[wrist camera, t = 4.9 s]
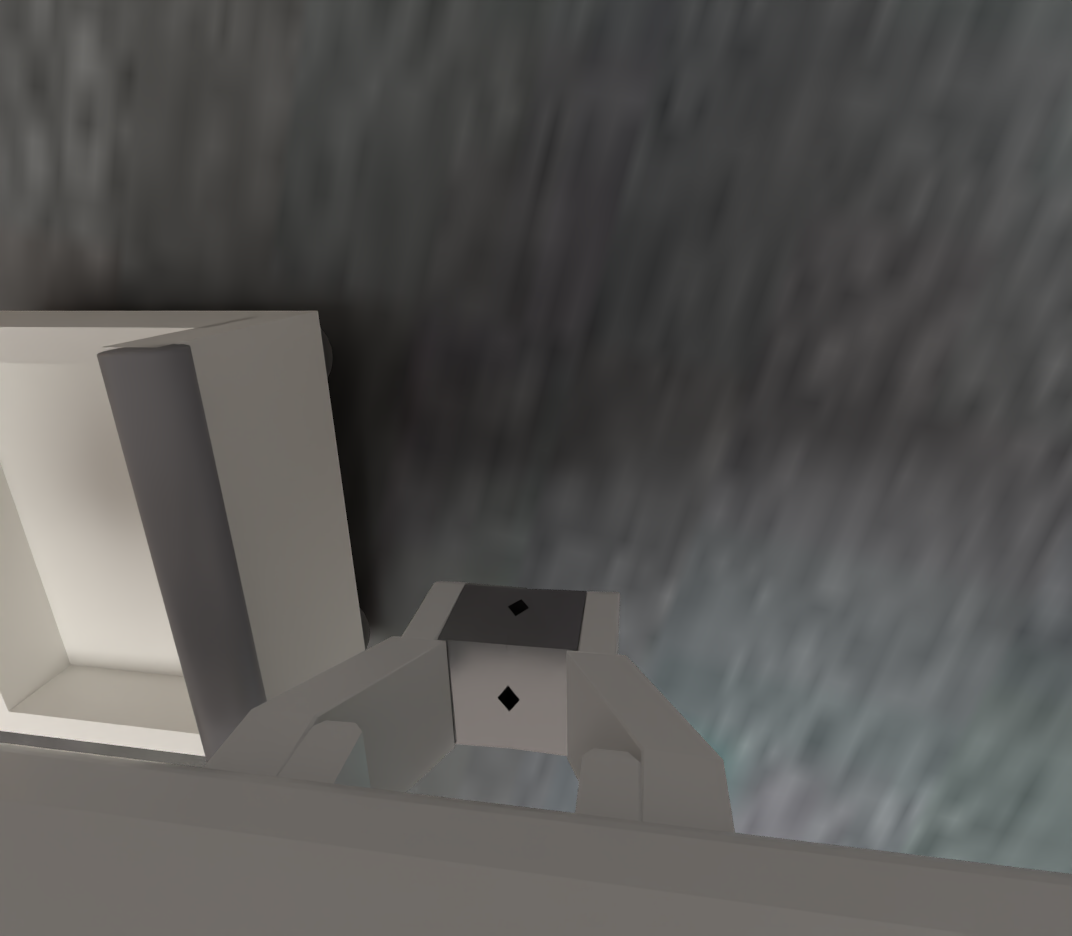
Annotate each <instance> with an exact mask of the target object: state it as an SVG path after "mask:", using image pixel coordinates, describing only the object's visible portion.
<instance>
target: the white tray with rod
mask: <svg viewBox="0 0 1072 936" xmlns="http://www.w3.org/2000/svg"><path fill="white" fill-rule="evenodd" d="M332 364H333V353H332V348H331V345H330V342H329V340H328V338H327V336H326V334H325V333H324V332H323V330H322V329H321V328H320V322H319V315H318V311H0V731H7V732H15V733H23V734H31V735H39V736H47V737H55V738H63V739H71V740H79V741H87V742H95V743H103V744H111V745H119V746H127V747H135V748H144V749H152V750H160V751H168V752H176V753H184V754H192V755H200V756H205V757H206V761H207V762H208V761H209V760H210V759H211V757H212V756H213V755H214V754H215V753H216V751H217V750H218V749H219V748H220V747H221V745H222V744H223V743H224V742H225V741H226V739H227V738H228V737H229V736H230V735H231V733H232V732H233V731H234V730H235V728H236V727H237V726H238V725H239V724H240V722H241V721H242V720H243V719H244V718H245V716H246V715H247V714H248V713H249V712H250V710H251V709H253V708H255V707H257V706H259V705H261V704H263V703H265V702H267V701H268V700H270V699H272V698H274V697H276V696H278V695H280V694H282V693H284V692H286V691H288V690H290V689H292V688H294V687H295V686H297V685H299V684H301V683H303V682H305V681H307V680H309V679H311V678H313V677H315V676H317V675H319V674H321V673H322V672H324V671H326V670H328V669H330V668H332V667H334V666H336V665H338V664H340V663H342V662H344V661H346V660H348V659H349V658H351V657H353V656H355V655H357V654H359V653H361V652H363V651H365V650H366V648H367V645H368V642H369V637H370V628H369V623H368V620H367V618H366V616H365V614H364V612H363V611H362V610H361V609H360V608H359V601H358V594H357V587H356V580H355V573H354V566H353V558H352V551H351V544H350V537H349V530H348V523H347V516H346V508H345V501H344V494H343V487H342V480H341V473H340V465H339V458H338V451H337V444H336V437H335V430H334V422H333V415H332V408H331V401H330V394H329V387H328V380H327V378H328V376H329V374H330V372H331V369H332Z"/></svg>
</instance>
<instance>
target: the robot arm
mask: <svg viewBox="0 0 1072 936" xmlns="http://www.w3.org/2000/svg"><path fill="white" fill-rule="evenodd" d="M619 616H620V594H619V592H604V591H588V592H587V591H575V590H551V589H527V588H524V587H512V586H501V585H489V584H478V583H466V582H454V581H437V582H435V583H434V584H433V585H432V587H431V588H430V590H429V592H428V593H427V595H426V597H425V598H424V600H423V602H422V603H421V605H420V607H419V608H418V610H417V612H416V613H415V615H414V617H413V618H412V620H411V621H410V623H409V625H408V626H407V628H406V630H405V631H404V633H403V635H402V636H401V637H395V636H392V637H390V638H388V639H386V640H384V641H382V642H380V643H378V644H376V645H375V646H373V647H371V648H369V649H367V650H365V651H363V652H361V653H359V654H357V655H355V656H353V657H351V658H349V659H348V660H346V661H344V662H342V663H340V664H338V665H336V666H334V667H332V668H330V669H328V670H326V671H324V672H322V673H321V674H319V675H317V676H315V677H313V678H311V679H309V680H307V681H305V682H303V683H301V684H299V685H297V686H295V687H294V688H292V689H290V690H288V691H286V692H284V693H282V694H280V695H278V696H276V697H274V698H272V699H270V700H268V701H267V702H265V703H263V704H261V705H259V706H257V707H255V708H253V709H251V710H250V712H249V713H248V714H247V715H246V716H245V718H244V719H243V720H242V721H241V722H240V724H239V725H238V726H237V727H236V728H235V730H234V731H233V732H232V733H231V735H230V736H229V737H228V738H227V739H226V741H225V742H224V743H223V744H222V745H221V747H220V748H219V749H218V750H217V751H216V753H215V754H214V755H213V756H212V757H211V759H210V760H209V761H208V762H207V763H206V765H205V766H204V767H203V768H202V767H194V766H186V765H178V764H170V763H162V762H154V761H145V760H137V759H129V758H121V757H113V756H105V755H97V754H89V753H80V752H72V751H64V750H56V749H48V748H40V747H32V746H23V745H15V744H7V743H0V936H1072V874H1068V873H1060V872H1051V871H1043V870H1035V869H1027V868H1019V867H1011V866H1003V865H994V864H986V863H978V862H970V861H962V860H954V859H945V858H937V857H929V856H921V855H913V854H905V853H896V852H888V851H880V850H871V849H863V848H855V847H847V846H839V845H830V844H822V843H814V842H806V841H798V840H790V839H782V838H773V837H765V836H757V835H749V834H741V833H735V830H734V824H733V818H732V811H731V805H730V799H729V793H728V787H727V780H726V774H725V768H724V762H723V759H722V758H721V757H720V756H719V755H718V754H717V753H716V752H715V751H714V749H713V748H712V747H711V746H710V745H709V744H708V743H707V742H706V741H705V740H704V739H703V738H702V737H701V735H700V734H699V733H698V732H697V731H696V730H695V729H694V728H693V727H692V726H691V725H690V724H689V723H688V721H687V720H686V719H685V718H684V717H683V716H682V715H681V714H680V713H679V712H678V711H677V710H676V708H675V707H674V706H673V705H672V704H671V703H670V702H669V701H668V700H667V699H666V698H665V697H664V696H663V694H662V693H661V692H660V691H659V690H658V689H657V688H656V687H655V686H654V685H653V684H652V683H651V682H650V680H649V679H648V678H647V677H646V676H645V675H644V674H643V673H642V672H641V671H640V670H639V669H638V667H637V666H636V665H635V664H634V663H633V662H632V661H631V660H630V659H629V658H628V657H627V656H626V655H618V648H619ZM455 744H462V745H474V746H487V747H500V748H512V749H519V750H526V751H534V752H541V753H548V754H556V755H563V756H567V759H568V761H569V763H570V765H571V767H572V769H573V771H574V773H575V775H576V777H577V779H578V781H579V787H578V794H577V802H576V810H575V813H570V812H562V811H553V810H545V809H537V808H529V807H521V806H512V805H504V804H496V803H488V802H479V801H471V800H463V799H455V798H446V797H438V796H430V795H422V794H414V793H406V792H407V791H408V790H409V789H410V788H411V787H413V786H414V785H415V784H416V783H417V782H418V781H419V780H420V779H421V778H422V777H423V776H424V775H425V774H427V773H428V772H429V771H430V770H431V769H432V768H433V767H434V766H435V765H436V764H437V763H438V762H440V761H441V760H442V759H443V758H444V757H445V756H446V755H447V754H448V753H449V752H450V751H451V750H452V749H454V748H455Z"/></svg>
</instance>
